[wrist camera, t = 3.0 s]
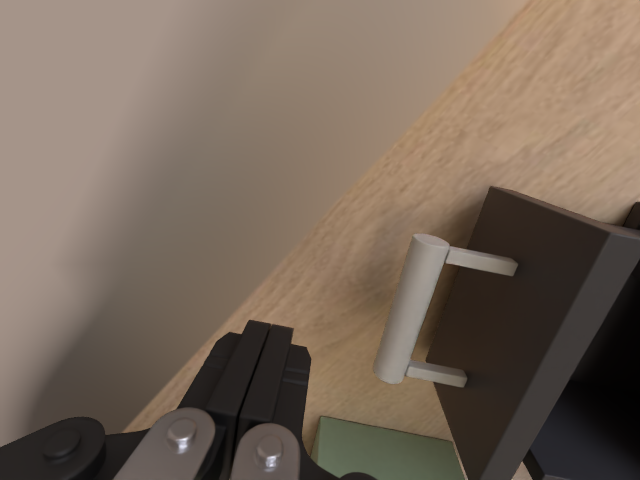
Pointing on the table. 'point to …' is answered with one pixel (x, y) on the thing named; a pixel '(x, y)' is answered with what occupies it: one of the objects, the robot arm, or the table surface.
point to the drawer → (529, 341)
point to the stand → (382, 452)
